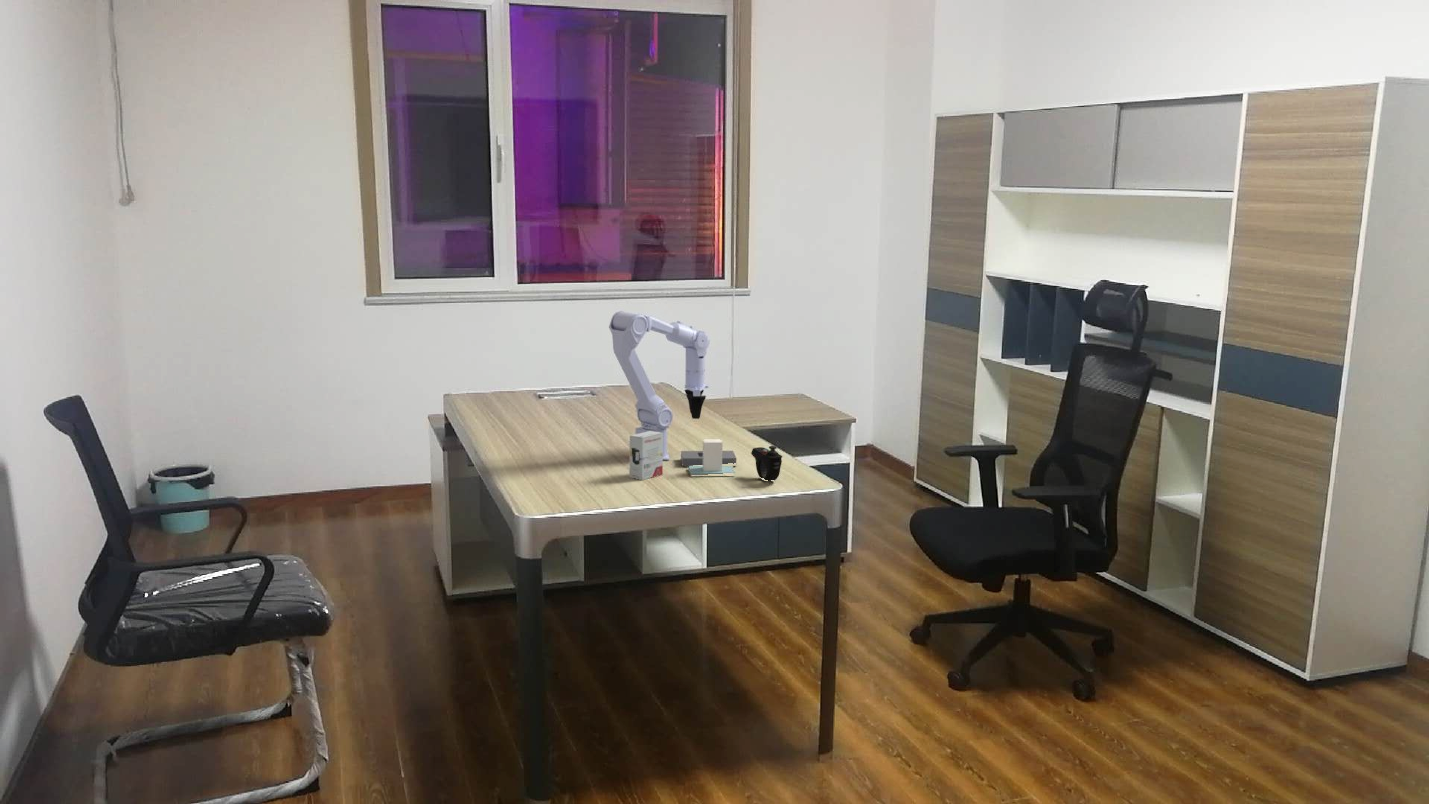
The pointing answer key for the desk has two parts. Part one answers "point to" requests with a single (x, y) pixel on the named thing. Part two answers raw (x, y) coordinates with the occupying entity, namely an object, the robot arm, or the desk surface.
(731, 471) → the mat
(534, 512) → the desk surface
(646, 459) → the ink box
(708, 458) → the plug
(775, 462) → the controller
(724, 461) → the grey board with hole
